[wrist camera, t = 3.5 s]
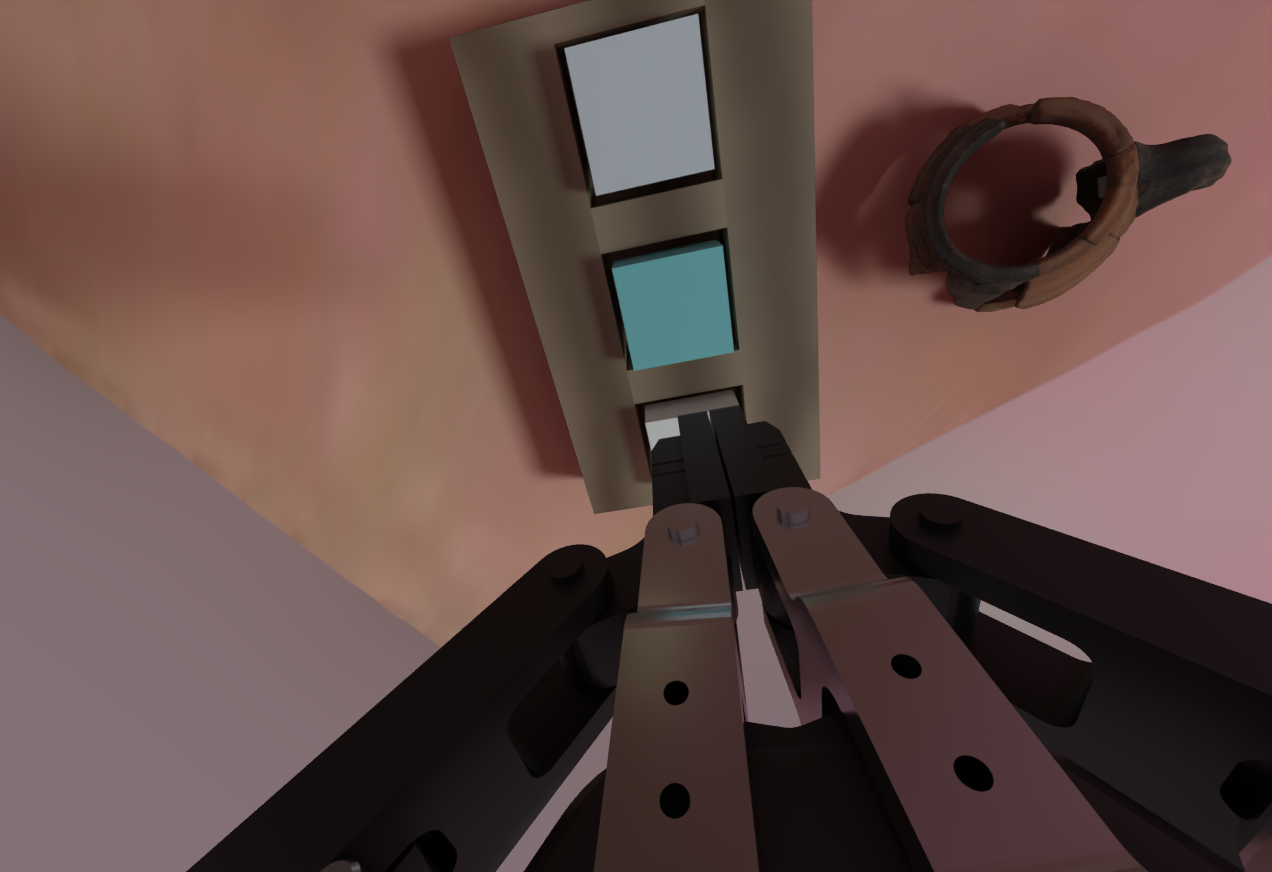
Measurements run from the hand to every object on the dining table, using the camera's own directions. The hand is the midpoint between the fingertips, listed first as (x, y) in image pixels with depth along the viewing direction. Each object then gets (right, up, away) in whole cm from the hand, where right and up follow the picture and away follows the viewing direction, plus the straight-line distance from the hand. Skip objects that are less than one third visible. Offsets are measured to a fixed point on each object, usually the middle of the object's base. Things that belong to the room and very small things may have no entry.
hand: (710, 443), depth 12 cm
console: (0, +9, +16) cm, 18 cm away
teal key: (0, +7, +13) cm, 15 cm away
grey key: (-2, +14, +9) cm, 17 cm away
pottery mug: (+17, +12, +14) cm, 25 cm away
